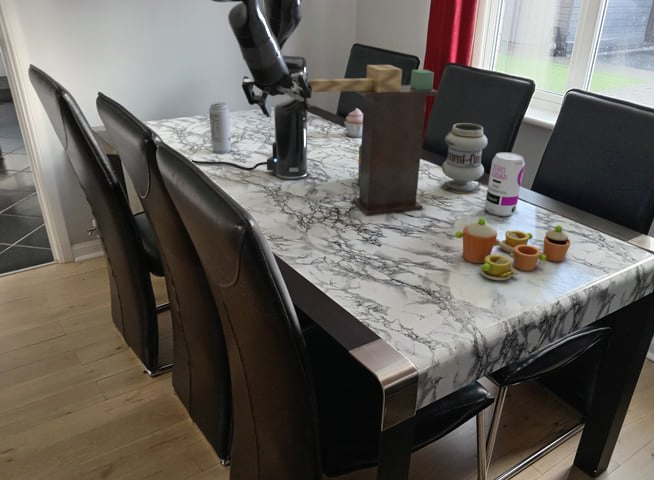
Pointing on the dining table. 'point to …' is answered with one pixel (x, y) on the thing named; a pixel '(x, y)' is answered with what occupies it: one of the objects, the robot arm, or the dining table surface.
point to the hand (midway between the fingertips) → (287, 112)
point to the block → (422, 79)
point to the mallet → (363, 81)
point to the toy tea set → (509, 249)
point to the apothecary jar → (464, 157)
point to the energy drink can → (220, 127)
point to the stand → (391, 150)
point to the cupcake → (354, 123)
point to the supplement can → (504, 183)
